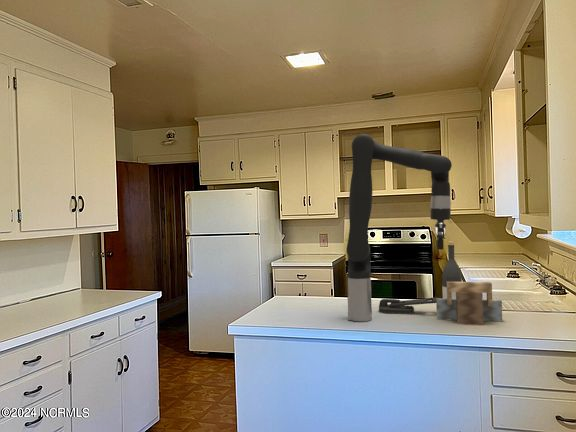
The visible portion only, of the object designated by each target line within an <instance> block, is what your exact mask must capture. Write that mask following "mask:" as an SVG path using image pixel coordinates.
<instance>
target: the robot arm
mask: <svg viewBox="0 0 576 432" xmlns="http://www.w3.org/2000/svg"><path fill="white" fill-rule="evenodd" d="M351 152H352V153H351V155H352V172H351V178H350V183H349V186H350V187H349V193H348V194H349V196H348V217H349V230H348V231H349V232H348V239H347V244H346V254H347V257H348V258H347V260H348V261H347V264H348V266H347V285H348V287H347V288H348V293H347V294H348V296H347V319H348V321H353V322H361V323H362V322H369V321H371V320H373V318H372V317H373V313H372V311H373V310H372V309H373V308H372V279H371V274H372V273H371V272H372V270H371V269H372V266H371V259H372V257H371V246H370V244H369V224H370V219H371V214H372V206H373V179H372V178H373V177H372V163H373V160H377V161H379V160H380V161H383V162H389V163H391V164H397V165H398V166H399V165H400V166H402V167H403V166H404V167H407V168H412V169H415V170H425V171H428V172H430V177H431V198H430V217H429V218H430V220H434V221H435V220H436V223H435V224H434V229H435V236H436V248H437V250H442V251H443V250H444V240H445V235H446V226H447V225H446V223H445V222H444V221H446V220H447V221H449V220H451V218H452V217H451V215H452V214H451V213H452V212H451V210H452V206H451V205H452V202H451V183H450V181H449V180H450V177H449V176H450V175H449V174H450V171H451V169H452V166H453V165H452V161H451V160H450V158H449V157H447V156H444V155H440V154H433V153H427V152H423V151H420V150H415V149H411V148H406V147H398V146H391V145H385V144H383V143H380V142H378V141H376V140H374V139H373V137H372V136H371V135H369V134H367V133H361V134H358V135H356V136H355V138H353V140H352V142H351Z"/></svg>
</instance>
